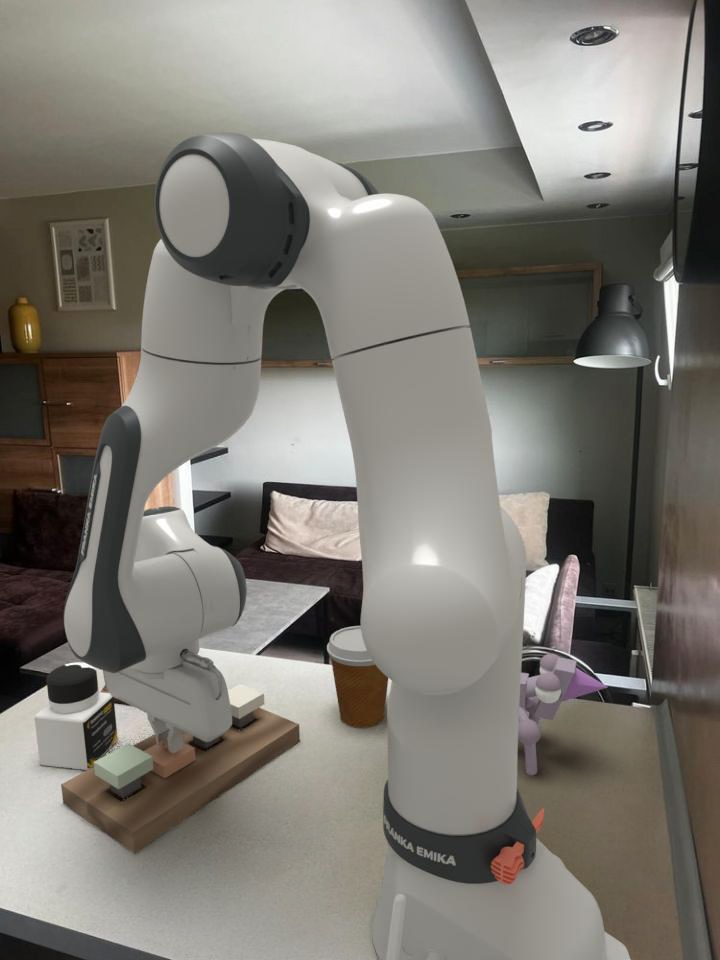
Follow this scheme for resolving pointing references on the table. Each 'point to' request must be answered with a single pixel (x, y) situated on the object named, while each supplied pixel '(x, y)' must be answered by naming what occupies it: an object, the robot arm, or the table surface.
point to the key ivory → (244, 704)
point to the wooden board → (179, 782)
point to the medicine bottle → (75, 719)
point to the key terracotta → (170, 759)
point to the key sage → (124, 769)
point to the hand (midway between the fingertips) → (169, 747)
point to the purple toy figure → (548, 699)
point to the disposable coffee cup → (356, 679)
